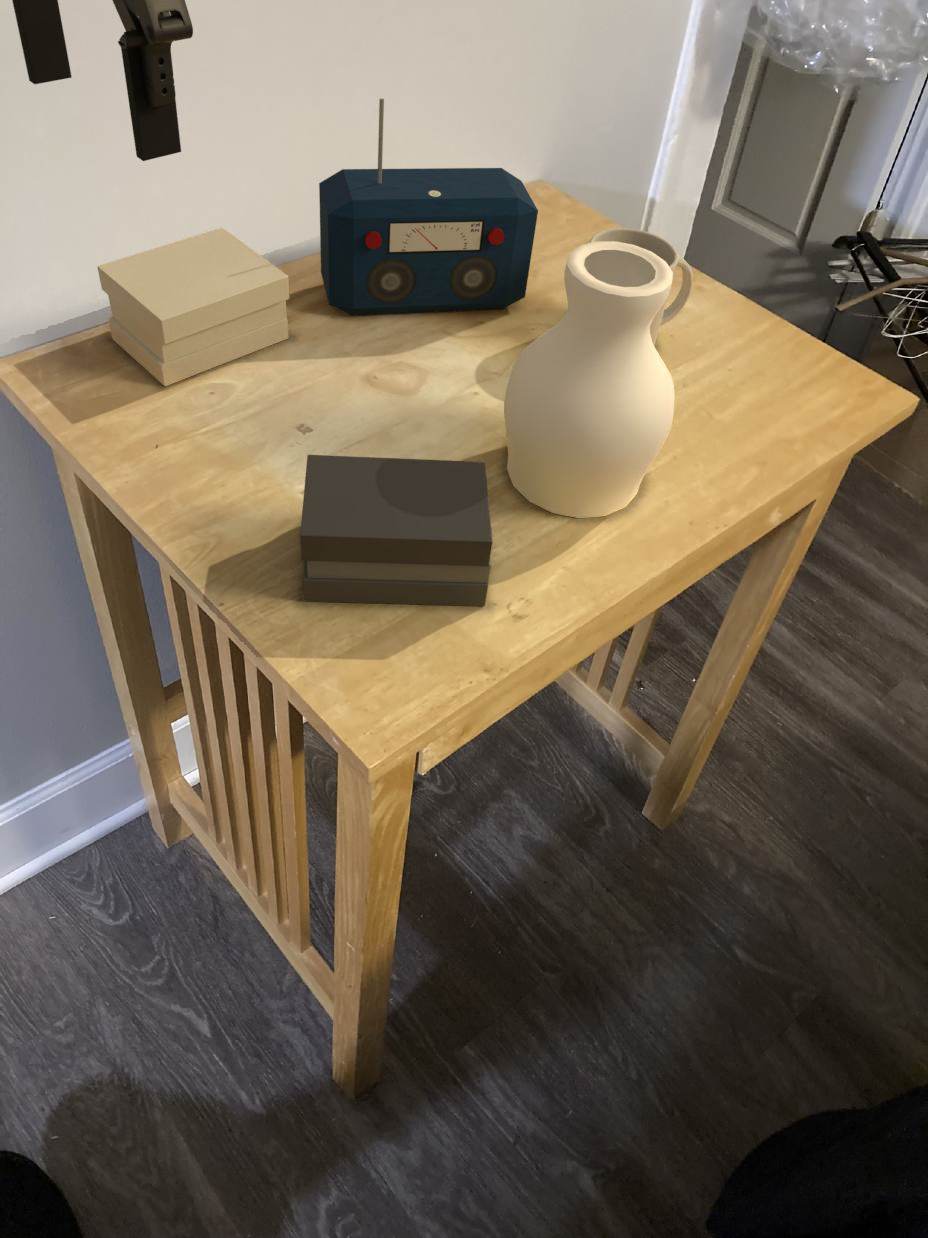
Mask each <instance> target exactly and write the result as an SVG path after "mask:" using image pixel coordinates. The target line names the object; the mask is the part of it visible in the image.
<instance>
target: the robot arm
mask: <svg viewBox="0 0 928 1238" xmlns="http://www.w3.org/2000/svg"><path fill="white" fill-rule="evenodd" d="M112 3H113V5H114V7H115V10H116V12H117V15H118V16H119V19H120V22H121V23H122V26H123V28H124V30H125V31H124V32H123V33H122V35H121V36H120V38H119V39H118V41H117V44H118V45H119V47H120V50H121V51H120V52H121V58H122V63H123V70H124V71H123V72H124V80H125V83H126V85H125V86H126V91H127V92H126V93H127V98H128V105H129V113H130V114H129V115H130V120H131V126H132V134H133V141H134V149H135V154H136V157H137V158H138V159H140V161H142V162H146V161H149V160H153V159H158V158H162V157H166V156H170V155H174V154H177V153H182V146H181V137H180V127H179V121H178V120H179V118H178V109H177V100H176V99H177V98H176V87H175V78H174V69H173V68H174V67H173V58H172V44H173V42H177V41H182V40H188V39H191V38H193V36H194V27H193V23H192V20H191V17H190V16H191V15H190V13H189V9H188V6H187V3H186V0H112ZM12 6H13V10H14V15H15V19H16V24H17V29H18V34H19V38H20V39H19V40H20V44H21V48H22V52H23V57H24V58H23V59H24V63H25V67H26V71H27V72H26V73H27V76H28V81H29V82H31V83H32V84H33V85H39V84H44V83H51V82H56V81H62V80H66V79H72V78H73V77H72V72H71V66H70V60H69V54H68V49H67V44H66V39H65V38H66V37H65V33H64V27H63V22H62V15H61V11H60V5H59V0H12Z"/></svg>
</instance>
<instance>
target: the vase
mask: <svg viewBox="0 0 928 1238" xmlns="http://www.w3.org/2000/svg"><path fill="white" fill-rule="evenodd" d="M563 277H564V278H563V281H564V288H565V294H566V299H567V308H566V309H567V310H566V312H565V313H564V315H563V317H562V318H561V319H560V320H559V322H558V323H557V324H555V325H553V326H552V327H550V328H549V329H547V330H546V331H545V332H543V333H542V334H540V335H539V336H537V338H535V339H534V340H533V341H532V342H531V343H529V344H528V345H527V346H526V347H525V348H524V349H523V351H521V352H520V353H519V355H518V356H517V358H516V359H515V361H514V362H513V365H512V369H511V371H510V374H509V378H508V381H507V382H508V383H507V386H506V390H505V393H504V394H505V395H504V400H503V415H504V416H503V417H504V426H505V433H506V442H507V463H506V471H507V473H508V476H509V479H510V481H511V484H512V486H513V487H514V488H515V489H516V490H517V491H518V492H519V493H520V494H521V496H523V497H524V498H525V499H526V500H527V501H528V502H529V503H531V504H534V505H535V506H537V507H539V508H542V509H543V510H546V511H547V512H549V513H552V514H555V515H559V516H566V517H572V518H577V519H587V518H599V517H601V518H602V517H606V516H608V515H611V514H614V513H615V512H618V511H620V510H623V509H625V508H627V506H628V505H629V504H630V502H631V501H632V500H633V499H634V498H635V497H636V496H637V494H638V493H639V489H640V485H641V483H642V482H643V479H644V477H645V475H646V473H647V472H648V470H649V469H650V467H651V465H652V464H653V462H654V461H655V460H656V458H657V456H658V455H659V453H660V452H661V450H662V448H663V447H664V445H665V443H666V441H667V439H668V437H669V435H670V432H671V429H672V426H673V420H674V413H675V398H676V397H675V395H676V393H675V384H674V383H675V382H674V380H673V377H672V374H671V372H670V371H669V369H668V367H667V365H666V364H665V362H664V360H663V358H662V357H661V355H660V353H659V352H658V350H657V348H656V347H655V346H654V345H653V342H652V339H651V335H650V325H651V323H652V320H653V319H654V317H655V315H656V314H657V312H658V311H659V310H660V308H661V307H662V305H663V304H664V302H665V301H666V299H667V297H668V298H669V295H670V293H671V289H672V285H673V281H672V277H673V272H672V270H671V269H670V267H669V266H668V264H667V263H666V261H664V260H663V259H661V258H660V257H659V256H657V255H656V254H654V253H653V252H651V251H648V250H646V249H643V248H641V247H638V246H636V245H632V244H627V243H621V242H615V241H602V242H591V243H589V242H588V243H584V244H580V245H578V246H577V247H576V248H574V249H572V250H571V251H570V252H569V253H568V256H567V259H566V263H565V268H564V275H563ZM673 278H674V277H673ZM667 300H668V299H667Z"/></svg>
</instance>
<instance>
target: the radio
mask: <svg viewBox="0 0 928 1238" xmlns="http://www.w3.org/2000/svg"><path fill="white" fill-rule="evenodd" d="M384 112H385V98H379V105H378V144H377V145H378V148H377V151H378V152H377V168H342V169H341V170H339V171H337V172H335V173H334V174H332V175H330V176H329V177H327V178H325V179H323V180H322V181H320V182H319V183H318V187H319V188H318V190H319V191H318V193H319V194H318V195H319V197H318V198H319V237H320V238H319V239H320V240H319V243H320V244H319V245H320V246H319V247H320V274H321V278H322V282H323V286H324V290H325V294H326V298H327V302H328V305H329V306H331V307H333V308H335V309H337V310H339V311H340V312H343V313H346V315H349V316H352V317H355V316H377V315H379V316H380V315H381V316H383V315H401V314H402V315H403V314H405V315H407V314H427V313H429V314H430V313H451V312H452V313H453V312H477V311H479V312H480V311H501V310H504V309H507V308H508V307H510V306H512V305H513V304H516V303H517V302H519V301H521V300H523V299H525V298H526V293H527V287H528V280H529V273H530V266H531V260H532V254H533V247H534V242H535V241H534V240H535V234H536V229H537V222H538V213H539V210H538V208H537V205H536V204H535V203H534V200H533V199H532V197H531V194H530V193H529V192H528V190H527V187H526V186H525V184H524V183H523V181H522V180H521V179H519V178H518V177H516V176H515V175H513V174H512V173H510V172H509V171H507V170H505V169H504V168H502V167H467V168H466V167H446V168H445V167H441V168H440V167H439V168H438V167H437V168H435V167H433V168H383V152H384V151H383V146H384V115H385V113H384Z"/></svg>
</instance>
